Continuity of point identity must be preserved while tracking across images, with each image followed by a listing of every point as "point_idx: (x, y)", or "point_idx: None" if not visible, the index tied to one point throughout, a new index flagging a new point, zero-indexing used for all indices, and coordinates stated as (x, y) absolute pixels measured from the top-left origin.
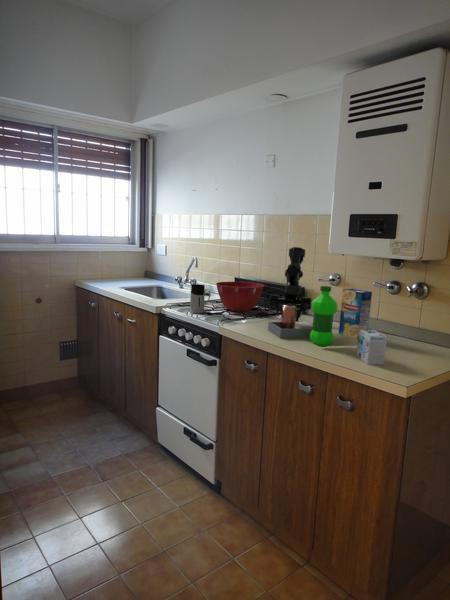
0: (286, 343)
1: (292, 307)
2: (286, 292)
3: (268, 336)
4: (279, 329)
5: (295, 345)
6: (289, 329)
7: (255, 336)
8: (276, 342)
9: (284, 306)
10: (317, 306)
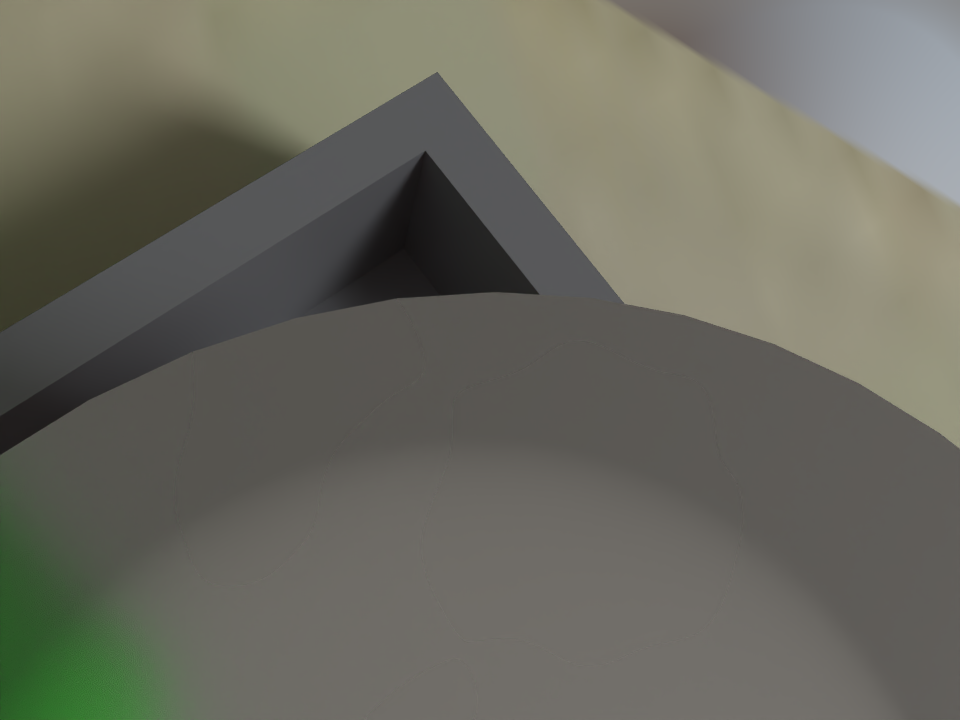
0: (243, 71)
1: (56, 450)
2: None
3: None
4: (489, 151)
5: (45, 10)
6: (222, 206)
7: (913, 286)
8: (435, 56)
9: (860, 413)
10: None
